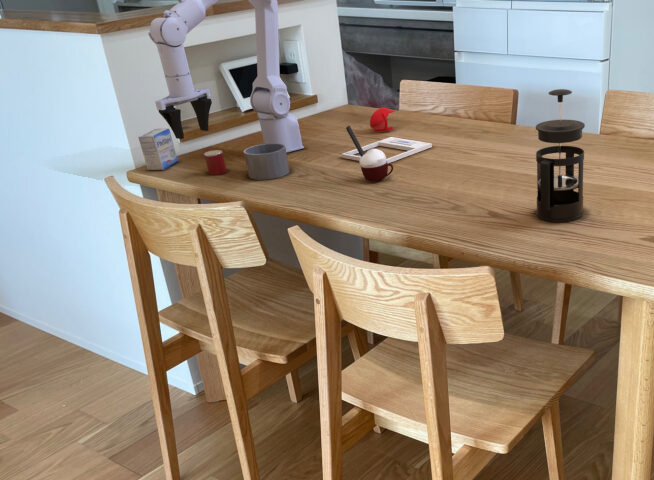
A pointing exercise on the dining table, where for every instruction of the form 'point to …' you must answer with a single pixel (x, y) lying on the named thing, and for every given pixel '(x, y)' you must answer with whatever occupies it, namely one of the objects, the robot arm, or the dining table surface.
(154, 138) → the medicine box
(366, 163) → the cocoa
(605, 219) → the dining table surface
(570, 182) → the french press
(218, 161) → the coffee pod
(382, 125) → the cap
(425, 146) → the photo frame
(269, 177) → the bucket
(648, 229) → the dining table surface
